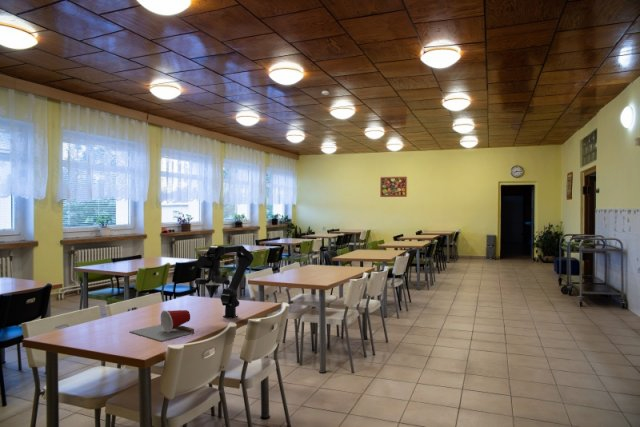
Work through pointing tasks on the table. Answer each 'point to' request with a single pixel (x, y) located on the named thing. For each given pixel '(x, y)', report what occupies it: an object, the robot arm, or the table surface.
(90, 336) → the table surface
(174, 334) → the mat
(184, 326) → the stop strip
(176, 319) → the plastic cup
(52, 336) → the table surface
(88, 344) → the table surface
